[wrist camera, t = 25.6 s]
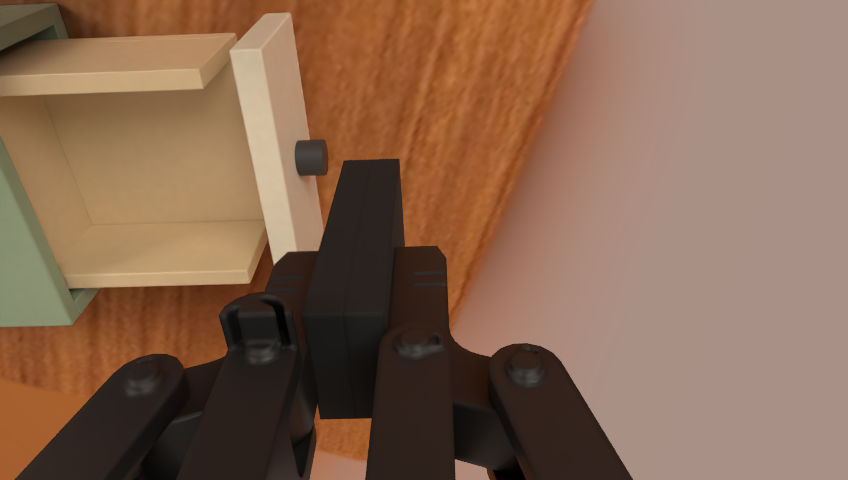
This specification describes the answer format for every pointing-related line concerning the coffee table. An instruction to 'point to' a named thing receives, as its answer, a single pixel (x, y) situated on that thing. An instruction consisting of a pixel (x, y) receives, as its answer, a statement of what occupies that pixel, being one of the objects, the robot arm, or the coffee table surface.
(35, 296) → the cabinet
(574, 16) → the coffee table surface
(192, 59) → the drawer
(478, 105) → the coffee table surface
